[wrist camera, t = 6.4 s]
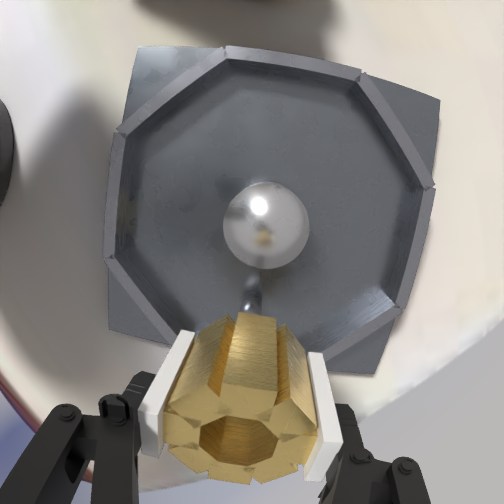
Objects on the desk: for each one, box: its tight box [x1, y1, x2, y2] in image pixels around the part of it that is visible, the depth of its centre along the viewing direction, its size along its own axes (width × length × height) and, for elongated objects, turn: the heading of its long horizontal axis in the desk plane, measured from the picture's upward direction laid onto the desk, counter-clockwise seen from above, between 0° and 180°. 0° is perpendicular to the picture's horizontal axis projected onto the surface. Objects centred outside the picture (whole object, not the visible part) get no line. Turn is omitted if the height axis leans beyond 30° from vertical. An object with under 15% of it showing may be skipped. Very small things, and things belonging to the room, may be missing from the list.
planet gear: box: [163, 312, 318, 485], centre depth 14 cm, size 6×6×6 cm
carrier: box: [103, 45, 440, 374], centre depth 21 cm, size 24×24×6 cm
